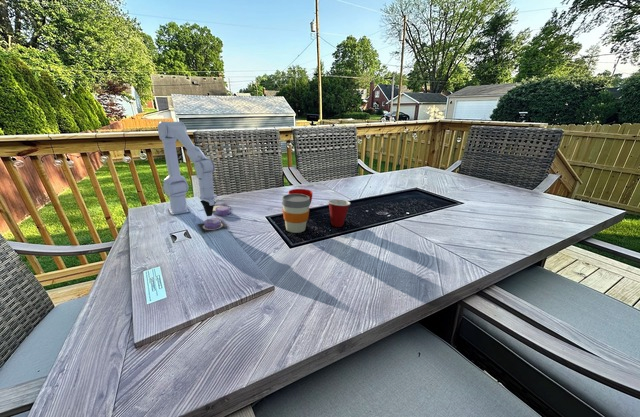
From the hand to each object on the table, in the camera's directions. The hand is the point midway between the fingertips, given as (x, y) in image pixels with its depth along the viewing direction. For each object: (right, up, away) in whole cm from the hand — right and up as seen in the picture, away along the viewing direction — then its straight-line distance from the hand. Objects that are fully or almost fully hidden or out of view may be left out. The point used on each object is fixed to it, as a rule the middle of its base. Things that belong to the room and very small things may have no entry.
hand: (209, 215), depth 120 cm
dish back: (+1, +1, +14) cm, 14 cm away
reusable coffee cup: (+40, -6, 0) cm, 40 cm away
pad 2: (-4, +3, +20) cm, 20 cm away
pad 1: (+3, -5, -2) cm, 6 cm away
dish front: (+3, -5, -2) cm, 6 cm away
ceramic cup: (+39, +2, +23) cm, 45 cm away
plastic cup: (+60, -5, +7) cm, 60 cm away
